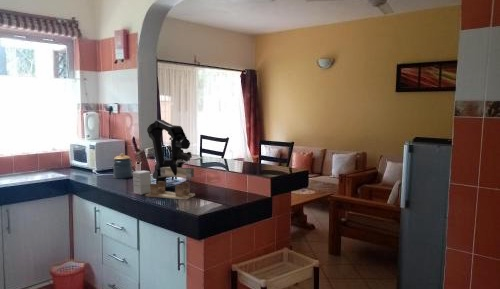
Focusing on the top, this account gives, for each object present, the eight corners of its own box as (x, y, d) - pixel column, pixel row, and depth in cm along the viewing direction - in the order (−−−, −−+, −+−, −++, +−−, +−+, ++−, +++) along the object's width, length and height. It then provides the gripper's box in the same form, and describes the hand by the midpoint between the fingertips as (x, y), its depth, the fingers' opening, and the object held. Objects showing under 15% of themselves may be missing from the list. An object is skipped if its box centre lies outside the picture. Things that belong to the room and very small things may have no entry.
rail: (164, 175, 220) (163, 166, 220) (194, 176, 213) (193, 168, 213) (160, 176, 217) (160, 167, 216) (191, 177, 210) (190, 169, 209)
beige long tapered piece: (155, 192, 217) (155, 180, 217) (195, 195, 209) (194, 183, 208) (145, 196, 208) (144, 184, 207) (186, 199, 199) (185, 186, 199)
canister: (128, 178, 264) (127, 154, 262) (110, 178, 264) (109, 154, 262) (134, 175, 277) (133, 151, 275) (117, 175, 277) (116, 152, 275)
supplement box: (144, 191, 222) (143, 170, 221) (151, 192, 218) (150, 171, 216) (133, 193, 217) (132, 171, 215) (140, 194, 212) (139, 173, 211)
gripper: (180, 150, 202) (181, 178, 203) (196, 146, 219) (197, 172, 221) (162, 149, 206) (163, 177, 207) (180, 146, 223) (180, 172, 225)
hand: (177, 174), depth 215 cm, fingers closed on rail, 3 cm apart
